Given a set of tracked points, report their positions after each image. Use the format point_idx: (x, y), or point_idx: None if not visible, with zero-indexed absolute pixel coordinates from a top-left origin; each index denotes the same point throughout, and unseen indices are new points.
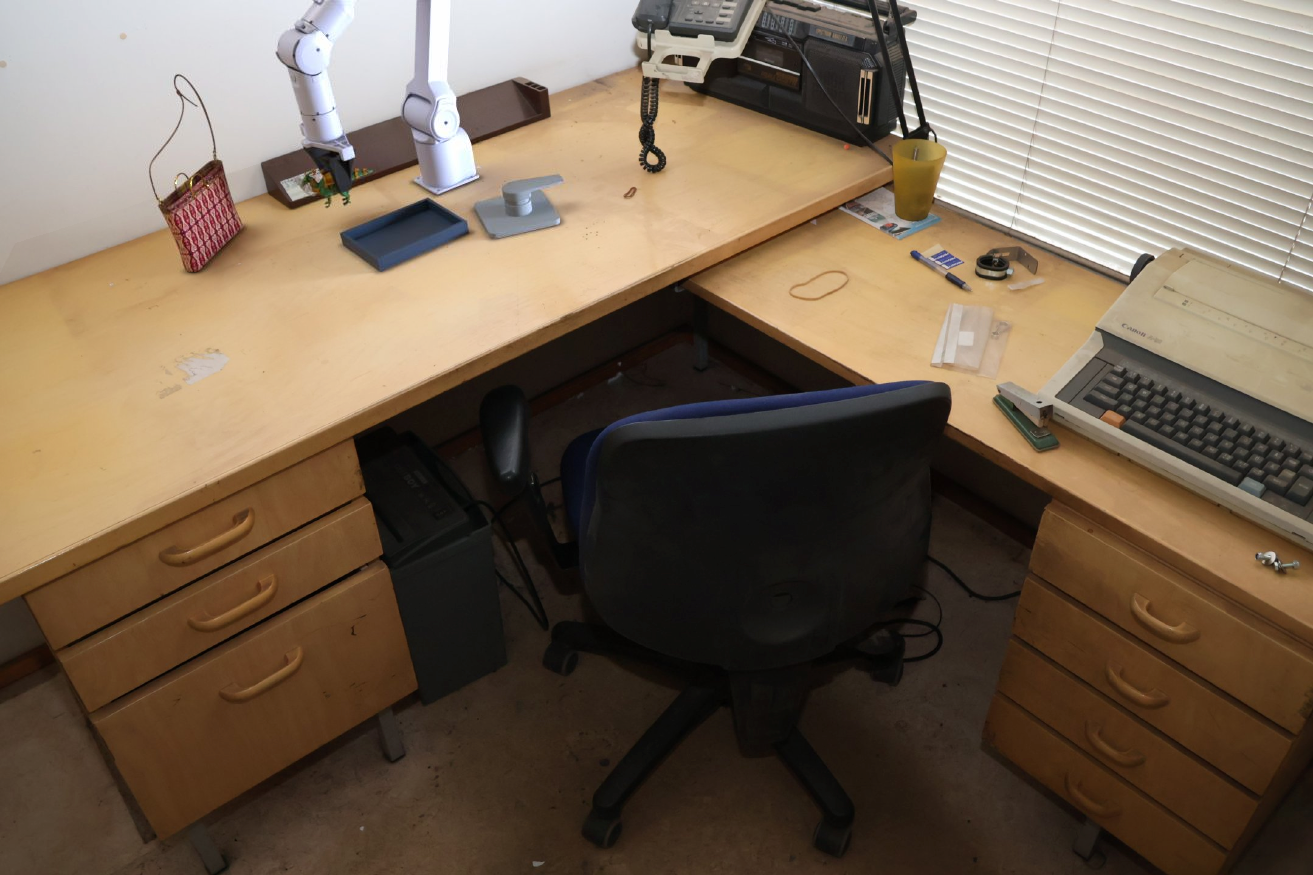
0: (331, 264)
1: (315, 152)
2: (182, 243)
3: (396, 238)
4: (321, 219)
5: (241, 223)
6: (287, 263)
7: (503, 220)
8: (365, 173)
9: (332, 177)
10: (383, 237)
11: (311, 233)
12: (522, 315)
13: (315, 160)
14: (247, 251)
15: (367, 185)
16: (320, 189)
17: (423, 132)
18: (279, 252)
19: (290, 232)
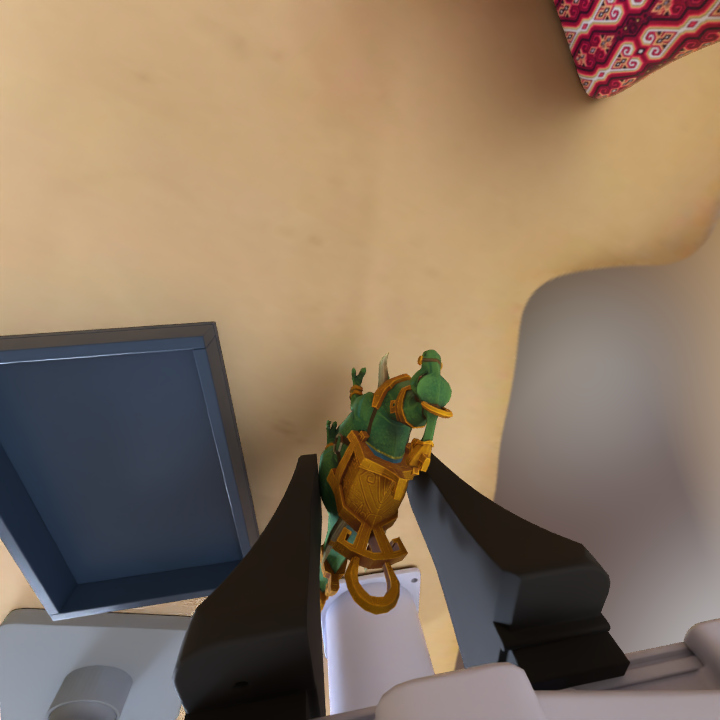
0: (96, 232)
1: (485, 581)
2: None
3: (134, 454)
4: (423, 338)
5: (600, 89)
6: (205, 94)
7: (62, 656)
8: None
9: (306, 502)
10: (165, 430)
11: (364, 276)
12: None
13: (467, 522)
14: (415, 4)
15: (490, 491)
16: (371, 406)
17: None
18: (314, 115)
19: (423, 224)
